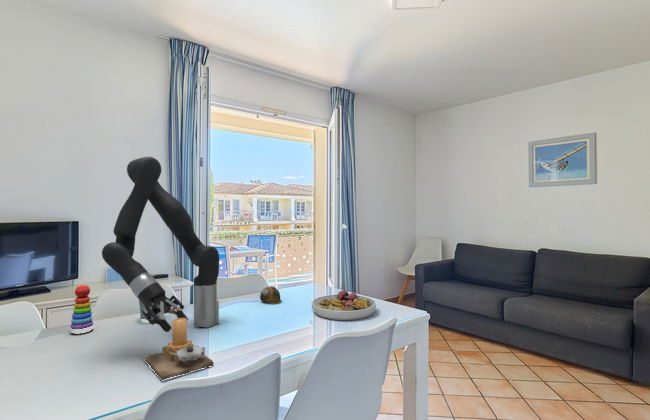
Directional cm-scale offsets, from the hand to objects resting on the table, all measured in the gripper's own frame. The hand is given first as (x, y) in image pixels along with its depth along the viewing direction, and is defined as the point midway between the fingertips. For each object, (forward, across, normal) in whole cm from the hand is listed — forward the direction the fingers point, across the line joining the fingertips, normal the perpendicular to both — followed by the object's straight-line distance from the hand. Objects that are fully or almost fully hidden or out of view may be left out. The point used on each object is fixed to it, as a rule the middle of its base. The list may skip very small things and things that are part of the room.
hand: (178, 326), depth 115 cm
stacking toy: (-30, +13, +45) cm, 56 cm away
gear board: (+9, -4, +5) cm, 12 cm away
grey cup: (-18, +32, +33) cm, 50 cm away
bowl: (+39, +62, -22) cm, 77 cm away
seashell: (+10, +72, +6) cm, 73 cm away
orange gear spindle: (+7, 0, +6) cm, 9 cm away
